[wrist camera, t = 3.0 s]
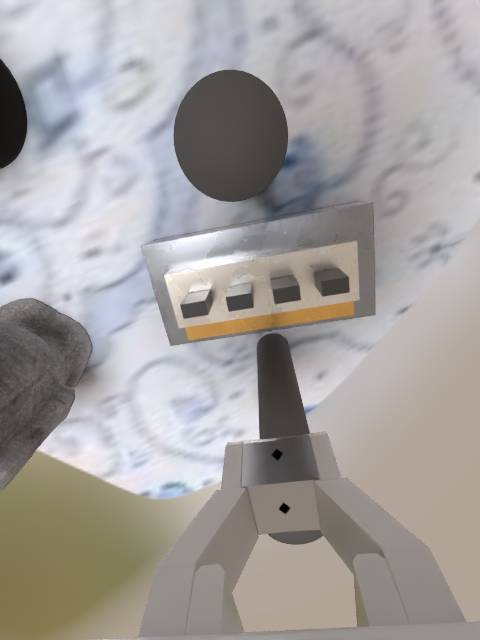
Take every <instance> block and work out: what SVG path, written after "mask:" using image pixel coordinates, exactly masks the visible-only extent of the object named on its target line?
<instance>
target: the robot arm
mask: <svg viewBox="0 0 480 640" xmlns="http://www.w3.org/2000/svg"><path fill="white" fill-rule="evenodd" d="M307 530H320V532H321V533H322V534H323V535H324V537H325V538H326V539H327V541H328V542H329V543H330V545H331V546H332V547H333V549H334V550H335V551H336V552H337V554H338V555H339V556H340V558H341V559H342V560H343V562H344V563H345V564H346V565H347V567H348V568H349V569H350V571H351V572H352V573H353V575H354V588H355V602H356V617H357V627H348V628H327V629H306V630H285V631H264V632H244V629H243V626H242V623H241V620H240V617H239V614H238V610H237V607H236V604H235V601H234V598H233V595H232V592H233V590H234V588H235V585H236V583H237V581H238V579H239V577H240V575H241V573H242V571H243V569H244V566H245V564H246V562H247V560H248V558H249V556H250V554H251V552H252V550H253V548H254V546H255V543H256V541H257V539H258V535H261V534H270V533H279V532H288V531H307ZM95 640H480V621H479V622H466V620H465V618H464V616H463V614H462V612H461V610H460V608H459V606H458V604H457V602H456V600H455V598H454V596H453V594H452V592H451V590H450V588H449V586H448V584H447V582H446V580H445V578H444V576H443V574H442V572H441V570H440V568H439V566H438V564H437V562H436V560H435V558H434V556H433V554H432V552H431V550H430V548H429V547H428V546H427V545H425V544H424V543H423V542H422V541H421V540H420V539H418V538H417V537H416V536H415V535H414V534H413V533H411V532H410V531H409V530H408V529H407V528H405V527H404V526H403V525H402V524H401V523H400V522H398V521H397V520H396V519H395V518H394V517H393V516H391V515H390V514H389V513H388V512H386V511H385V510H384V509H383V508H382V507H381V506H380V505H378V504H377V503H376V502H375V501H374V500H372V499H371V498H370V497H369V496H368V495H367V494H365V493H364V492H363V491H362V490H361V489H360V488H358V487H357V486H356V485H355V484H354V483H352V482H351V481H350V480H349V479H348V478H341V475H340V472H339V469H338V466H337V463H336V459H335V456H334V453H333V450H332V447H331V444H330V441H329V437H328V434H327V433H326V432H318V433H310V434H303V435H295V436H287V437H279V438H270V439H259V440H247V441H241V442H228V443H227V445H226V449H225V458H224V467H223V476H222V486H221V490H216V491H215V492H214V494H213V495H212V496H211V498H210V499H209V500H208V501H207V503H206V504H205V505H204V507H203V508H202V509H201V510H200V512H199V513H198V514H197V516H196V517H195V518H194V519H193V521H192V522H191V523H190V525H189V526H188V527H187V528H186V530H185V531H184V532H183V534H182V535H181V536H180V537H179V539H178V540H177V541H176V543H175V544H174V545H173V546H172V548H171V549H170V550H169V551H168V553H167V554H166V555H165V557H164V558H163V559H162V560H161V562H160V563H159V564H158V565H157V567H156V571H155V575H154V578H153V582H152V586H151V590H150V593H149V597H148V601H147V605H146V609H145V613H144V616H143V620H142V624H141V628H140V631H139V635H138V638H117V639H95Z"/></svg>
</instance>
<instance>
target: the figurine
mask: <svg viewBox="0 0 480 640" xmlns="http://www.w3.org/2000/svg"><path fill="white" fill-rule="evenodd" d="M91 350H92V345H91V341H90V339H89V337H88V335H87V333H86V331H85V330H84V329H83V327H82V326H81V325H80V324H79V323H78V322H76V321H74V320H72V319H71V318H69V317H67V316H65V315H63V314H59V313H58V312H57V311H56V310H54V309H53V308H51V307H49V306H47V305H45V304H43V303H42V302H40V301H37V300H35V299H20V300H16V301H14V302H11V303H8V304H6V305H4V306H2V307H1V308H0V490H3V489H5V487H6V486H7V485H8V484H9V483H10V482H11V481H12V480H13V478H14V477H15V476H16V475H17V473H18V472H19V471H20V470H21V468H22V467H23V466H24V465H25V464H26V463H27V461H28V460H29V459H30V458H31V457H32V455H33V454H34V452H35V450H36V449H37V448H38V447H39V446H40V445H41V444H42V442H43V441H44V440H45V439H46V438H47V437H48V436H49V434H50V433H51V432H52V431H53V430H54V429H55V428H56V427H57V426H58V425H59V424H60V423H61V422H62V421H63V420H64V419H66V417H67V415H68V413H69V411H70V409H71V407H72V404H73V402H74V400H75V390H73V389H71V388H72V387H73V386H74V385H75V384H77V382H78V381H79V380H80V378H81V376H82V373H83V371H84V369H85V366H86V364H87V362H88V359H89V356H90V354H91Z"/></svg>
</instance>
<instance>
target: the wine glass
mask: <svg viewBox="0 0 480 640" xmlns="http://www.w3.org/2000/svg"><path fill="white" fill-rule="evenodd" d="M26 128H27V119H26V111H25V105H24V101H23V98H22V95H21V92H20V90H19V87H18V85H17V83H16V81H15V79H14V77H13V76H12V74H11V72H10V71H9V69H8V68H7V67H6V66H5V64H4V63H3V62H2V60H1V59H0V168H3V167H5V166H7V165H8V164H10V163H11V162H12V161H13V160H14V159H15V158H16V157H17V155H18V154H19V152H20V151H21V149H22V146H23V144H24V141H25V136H26Z"/></svg>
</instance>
